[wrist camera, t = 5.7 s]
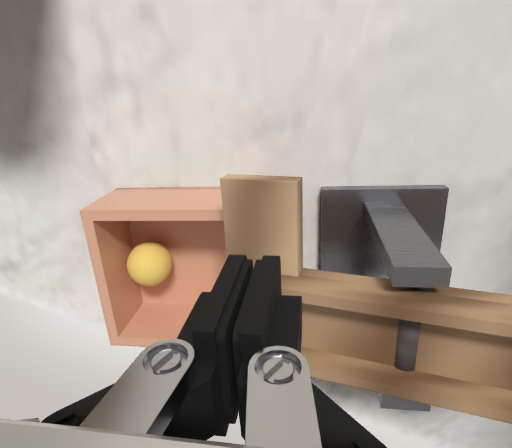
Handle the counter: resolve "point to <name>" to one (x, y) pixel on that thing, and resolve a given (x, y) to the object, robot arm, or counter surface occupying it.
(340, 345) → the lever
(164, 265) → the ball
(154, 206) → the pink open box
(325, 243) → the pivot stand
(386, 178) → the counter surface
